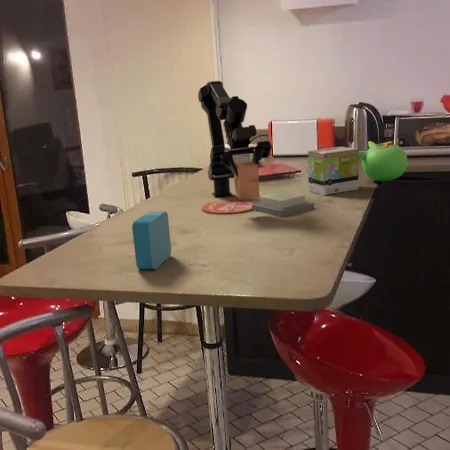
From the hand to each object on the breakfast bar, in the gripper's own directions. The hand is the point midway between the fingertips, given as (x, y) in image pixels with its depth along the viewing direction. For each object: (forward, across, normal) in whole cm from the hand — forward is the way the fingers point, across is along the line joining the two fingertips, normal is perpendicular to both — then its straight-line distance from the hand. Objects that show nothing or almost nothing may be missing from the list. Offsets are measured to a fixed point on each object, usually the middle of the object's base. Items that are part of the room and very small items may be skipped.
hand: (247, 174), depth 181 cm
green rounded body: (-9, +60, +28) cm, 67 cm away
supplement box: (-57, +22, +77) cm, 98 cm away
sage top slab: (+5, +12, +11) cm, 17 cm away
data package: (+32, -34, -13) cm, 48 cm away
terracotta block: (+4, 0, +6) cm, 7 cm away
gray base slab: (+7, +12, +13) cm, 19 cm away
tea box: (-5, +37, +24) cm, 45 cm away
